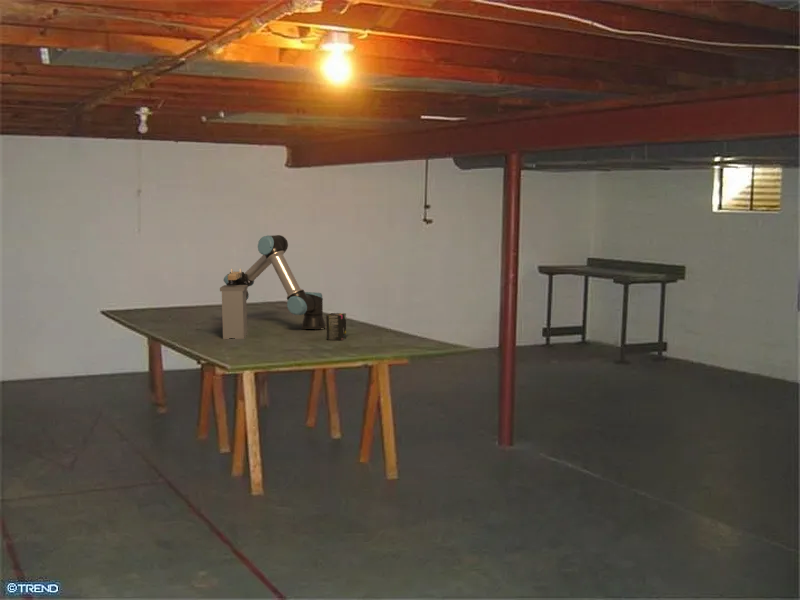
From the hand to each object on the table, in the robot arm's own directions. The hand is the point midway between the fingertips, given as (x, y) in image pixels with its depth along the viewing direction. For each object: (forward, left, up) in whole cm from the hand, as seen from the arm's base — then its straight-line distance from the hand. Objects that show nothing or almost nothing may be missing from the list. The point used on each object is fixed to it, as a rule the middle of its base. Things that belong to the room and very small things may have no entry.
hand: (235, 270), depth 540 cm
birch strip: (0, +6, -4) cm, 7 cm away
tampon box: (-60, +29, -39) cm, 77 cm away
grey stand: (0, +14, -38) cm, 41 cm away
